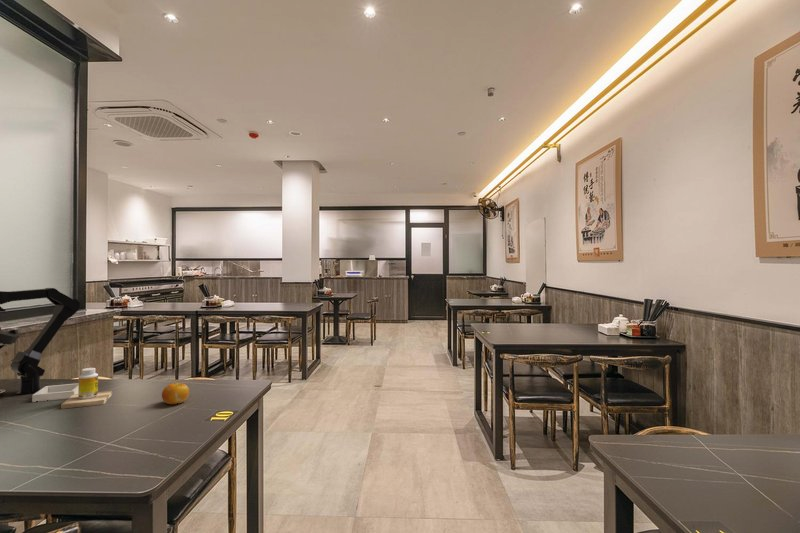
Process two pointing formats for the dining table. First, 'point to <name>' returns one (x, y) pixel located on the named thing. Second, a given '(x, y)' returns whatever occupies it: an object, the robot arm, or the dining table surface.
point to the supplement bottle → (88, 384)
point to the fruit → (175, 393)
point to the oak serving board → (86, 400)
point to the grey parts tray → (55, 392)
